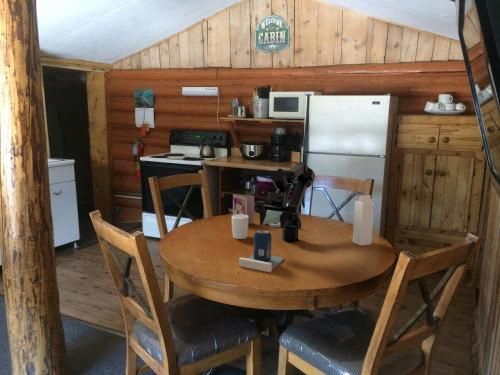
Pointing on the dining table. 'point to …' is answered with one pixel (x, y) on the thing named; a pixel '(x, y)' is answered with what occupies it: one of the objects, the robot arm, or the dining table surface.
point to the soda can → (262, 245)
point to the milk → (363, 220)
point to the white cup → (239, 226)
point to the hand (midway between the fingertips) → (271, 227)
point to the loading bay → (260, 263)
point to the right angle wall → (272, 218)
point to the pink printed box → (244, 206)
